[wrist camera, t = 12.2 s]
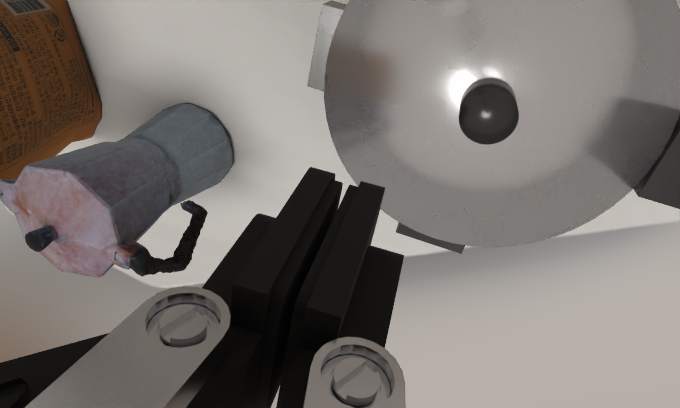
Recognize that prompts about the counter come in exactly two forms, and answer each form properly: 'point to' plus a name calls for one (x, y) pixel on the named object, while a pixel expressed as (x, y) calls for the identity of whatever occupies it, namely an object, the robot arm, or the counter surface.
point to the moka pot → (120, 194)
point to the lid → (506, 111)
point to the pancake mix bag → (42, 84)
